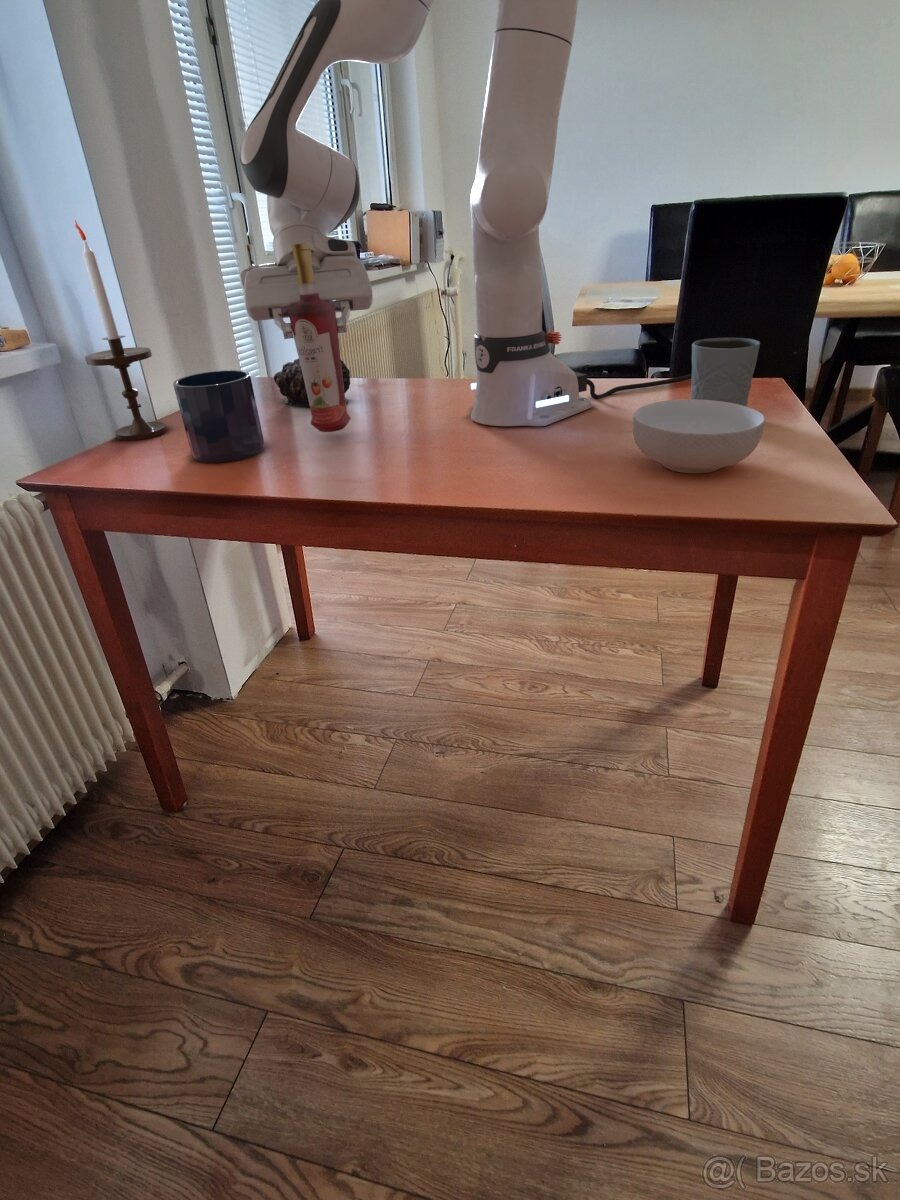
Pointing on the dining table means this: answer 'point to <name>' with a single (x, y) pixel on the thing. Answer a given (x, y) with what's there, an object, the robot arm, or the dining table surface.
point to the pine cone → (300, 383)
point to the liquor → (318, 348)
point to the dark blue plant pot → (220, 415)
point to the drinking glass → (723, 369)
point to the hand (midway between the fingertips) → (315, 333)
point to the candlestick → (118, 354)
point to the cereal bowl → (697, 433)
